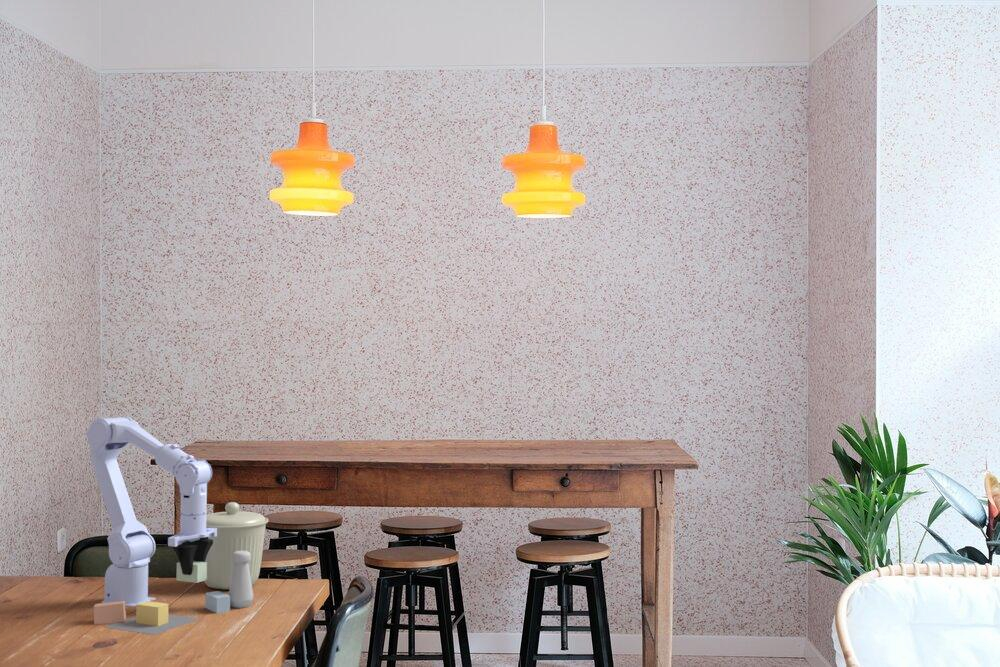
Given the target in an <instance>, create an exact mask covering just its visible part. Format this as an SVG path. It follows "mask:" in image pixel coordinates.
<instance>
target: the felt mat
mask: <svg viewBox="0 0 1000 667" xmlns="http://www.w3.org/2000/svg"><path fill="white" fill-rule="evenodd" d="M197 620H200V618H198V617H192V616H185V615H178V614H172V613H171V614H169V613H168V623H165V624H162V625H160V626H154V625H147V624H140V623H136V616H133V617H130V618H126V620H125V621H124V622H119V623H110V624H108V625H105V626H103V628H104V629H105V628H107V629H112V630H113V629H114V630H120V631H126V632H131V633H132V632H134V633H140V634H147V635H153V636H155V635H158V634H162V633H164V632H167V631H169V630H172V629H175V628H178V627H182V626H183V625H186V624H189V623H193V622H195V621H197Z"/></svg>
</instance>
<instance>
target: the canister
mask: <svg viewBox="0 0 1000 667" xmlns="http://www.w3.org/2000/svg"><path fill="white" fill-rule="evenodd" d="M224 509H225V511H219V512H213V513H212V512H211V513H206V528H217V536H216V537H208V539H212V540H213V545H212V546H211V548H210V550H209V552H208V554H207V557H206V560H205V562H207V580H205V581H203V582H204V583H205V585H206V586H207V587H209V588H211V589H215V590H229V589H230V584H231V578H232V573H233V568H234V563H235V562H232V554H233V553H234V552H236V551H248V552H250V554H251V560H250V561H249V562H248V565H249V571H250V577H251V584H252V586H253V585H254V584H255V583H257V581H258V579H259V576H260V572H261V565H262V559H263V558H262V557H263V553H264V552H263V551H264V542H265V534H266V528H267V527H266V525H267V524H268V523H269V518H268V517H265V516H264V515H263V514H262V513H259V512H253V511H243V510H242V511H240V505H239V503H237V502H234V501H230V502H227V503H226V504H225V506H224Z"/></svg>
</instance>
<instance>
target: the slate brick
mask: <svg viewBox="0 0 1000 667" xmlns="http://www.w3.org/2000/svg"><path fill="white" fill-rule="evenodd" d="M204 599H205V601H204V603H205V604H204V605H205V606H204V608H205V609H207V610H209V611H211V612H213V613H216V614H221V613H227V612H230V611H231V605H230V596H229V595H228V594H226V593H224V592H222V591H220V590H218V591H217V590H215V591H210V592H206V593H205V598H204Z"/></svg>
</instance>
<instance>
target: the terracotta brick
mask: <svg viewBox="0 0 1000 667" xmlns="http://www.w3.org/2000/svg"><path fill="white" fill-rule="evenodd" d="M126 611H127V610H126V605H125V601H116V602H108V603H102V602H101V603H95V604H94V605H93V620H94V621H93V622H94V625H103V624H104V625H105V624H106V625H107V624H108V625H110V624H114V623H119V622H124V621H125V620H126V619H127V613H126Z"/></svg>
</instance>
